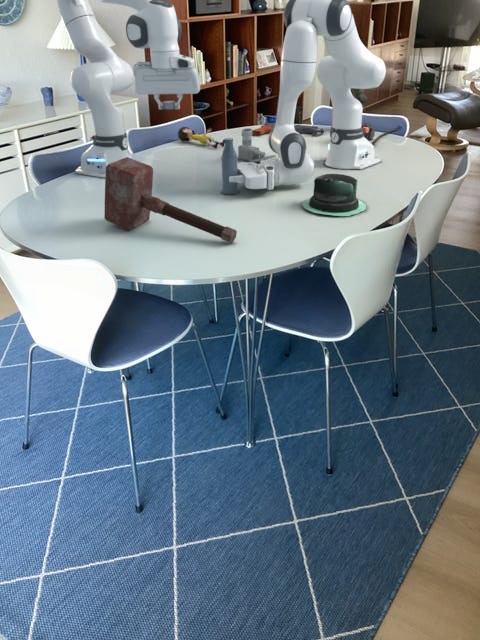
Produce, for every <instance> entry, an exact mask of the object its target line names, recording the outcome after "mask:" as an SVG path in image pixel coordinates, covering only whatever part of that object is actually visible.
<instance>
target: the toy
mask: <svg viewBox="0 0 480 640" xmlns="http://www.w3.org/2000/svg"><path fill="white" fill-rule="evenodd" d="M361 127H362V128H363V127H368V128H369V129H368V133H365V132H363V134H364V137H365V138H366V139H367V140H368V141H369V142H373V140H374V138H375V133H376V129H375V127H374V126H372V123H370V122H363V124H361Z"/></svg>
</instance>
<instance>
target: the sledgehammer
mask: <svg viewBox="0 0 480 640" xmlns="http://www.w3.org/2000/svg"><path fill="white" fill-rule="evenodd" d="M153 183H154V168H153V167H152V166H151V165H150V164H147V163H144V162H142V161H138V160H136V159H133V158H132V157H130V158H128V157H126V158H123V159H121V160H118V161H116V162H113V163H110V164H108V165H107V166H106V177H105V179H104V217H103V218H104V220H105V221H106V222H107V223H110V224H113V225H115V226H118V227H120V228H122V229H124V230H127V231H129V232H130V231H132V230H134V229H136V228H138V227H140V226H142V225H144V224H146V223H147V222H148V221H149V220H150V217H151V212H152V213H154V214H159V215H162V216H166V217H169V218H170V219H174V220H175V221H179V222H180V223H183V224H186V225H188V226H191V227H192V228H196V229H198V230H200V231H203V232H205V233H208V234H211V235H212V236H215V237H218V238H220V239H221V240H222V241H225V242H227V243H229V244H232V243H234V241H235V240H236V238H237V233H238V231H237V229H234V228H232V227H229V226H228V225H227V226H224V225H222V224H219V223H217V222H214V221H212V220H209V219H207V218H204V217H201V216H199V215H196V214H194V213H192V212H190V211H187V210H184V209H181V208H180V207H177V206H175V205H172V204H170V203H169V202H167V201H164V200H163V199H161V198H159V197H156V196H153Z"/></svg>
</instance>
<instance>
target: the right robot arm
mask: <svg viewBox="0 0 480 640" xmlns="http://www.w3.org/2000/svg"><path fill="white" fill-rule="evenodd" d="M283 22H284V26H285V29H286V31H285V35H284V40H283V44H282V50H281V58H280V72H279V73H280V74H279V92H278V97H277V98H278V99H277V107H276V114H275V120H274V122H273V123H274V126H273V128H272V130H271V132H269V134H268V139H267V140H268V146H269V149H270V150H271V151H272V152H273V153H274V154H276V155H277V158H275V159H273V158H272V159H267V160H261V161H259V163H257V162H250V161H244V162H243V161H242V162H237V176H234V175H232V176H229V177H228V178H229V182H238V183H239V184H243V185H244V187H245V188H246V189H250V190H264V189H267V190H270V191H271V190H274V188H275V187H277V186H281V185H286V186H290V185H291V186H292V185H300V184H304V183H308V182H309V181H310V180H311V179H312V177H313V176H314V172H315V162H314V160H313V159H312V158H311V156H310V154H309V152H308V147H307V141H306V139H305V137H304V136H303V135H302V134H301V133H298V132H296V131H295V128H294V125H295V117H296V109H297V103H298V99H299V97H300V95H301V94H302V93H303V92H304V91H306V90H307V89H309V88H310V87H311V85H312V84H313V81H314V78H315V74H316V78H317V80H318V81H319V83H320V84H321V85H322V86H323V87H324V88H325V91H327V93H328V96H329V98H330V101H331V112H332V113H331V115H332V116H331V126H330V130H329V137H330V140H329V143H328V144H327V145H328V146H327V156H326V157H325V163H324V164H325V166H327V167H330V168H334V169H341V170H342V169H343V170H348V169H350V170H351V169H352V170H363V169H365V168H368V167H370V166H373V165H376V164H378V163H381V158H379V157H377V156H376V155H375V150H376V149H375V145H376V143H377V141H378V140H380V139H381V138H383V137H384V136H385V135H388V134H390V133H394V132H396V131H398V130H399V129H401V125H397V127H396V128H395V129H394V128H393V129H391V130H388V131H386V132H383V133H382V134H380V135H378V136H377V137H376V138H375V139H374V141H372V143H371V141H368V140H367V139H366V138H365V137H364V134H363V132H365V133H368V129H369V128H368V127H363V128H362V127H361V125H362V123H363V122H362V121H363V111H364V106H363V107H362V104H361V103H360V102H359V101H358V100H357V99H355V98H354V97H353V95H352V93H351V90H350V88H356V89H363V90H369V89H375V88H379V86H380V85H382V84H383V82H384V80H385V78H386V74H387V68H386V64H385V61H384V60H383V59H382V58H381V57H379V56H377V55H375V54H374V53H372V52H371V51H370V50H369V49H368V48H367V47H366V46H365V44H364V43H363V42H362V40H361V39H360V36H359V33H358V30H357V25H356V22H355V17H354V14H353V10H352V6H351V5H350V2H349V1H348V0H288V1H287V2H286V4H285V6H284V9H283ZM318 36H319V37H321V36H322V38H323V43H324V45H325V48H326V51H327V53H328V55H325V56H323V57H321V59H320V60H319V62H318V63H317V58H318Z"/></svg>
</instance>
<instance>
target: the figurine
mask: <svg viewBox="0 0 480 640" xmlns="http://www.w3.org/2000/svg"><path fill="white" fill-rule="evenodd" d="M210 132H212V128H209V129H207V130H206V132H205V133H204V134H202V135H201V134H198V133H195V130H193V129H191V128H189V127H188V126H182V127H180V128H179V129H178V132H177V137H178V139H179V141H182V142H191V141H192V140H194V141H198V142H200V143H201V144H203V145H204V146H210V147H212V148H214V149H215V150H216V149H218V145H219V146H221V147H225V140H224V139H222V141H218V140H216V139H215V138H213V137H212V136H207V135H208V134H209V133H210Z"/></svg>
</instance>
